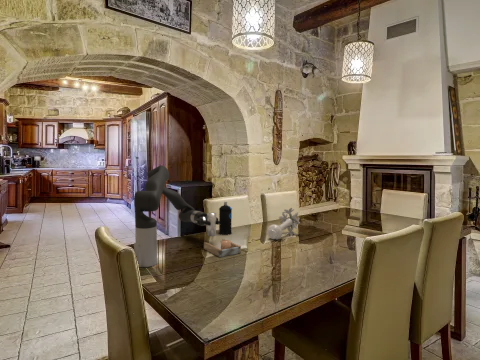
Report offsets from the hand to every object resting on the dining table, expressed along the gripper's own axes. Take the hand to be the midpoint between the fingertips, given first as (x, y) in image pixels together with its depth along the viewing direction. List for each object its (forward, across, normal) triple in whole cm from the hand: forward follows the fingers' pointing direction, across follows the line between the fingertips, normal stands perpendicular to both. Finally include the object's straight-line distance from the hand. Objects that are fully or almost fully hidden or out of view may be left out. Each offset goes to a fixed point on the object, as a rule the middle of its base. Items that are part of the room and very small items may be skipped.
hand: (214, 223), depth 171 cm
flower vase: (+4, +47, +13) cm, 49 cm away
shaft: (-3, 0, +7) cm, 7 cm away
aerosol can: (-22, +21, +13) cm, 33 cm away
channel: (+8, 0, +13) cm, 15 cm away
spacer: (+11, 0, +13) cm, 17 cm away
